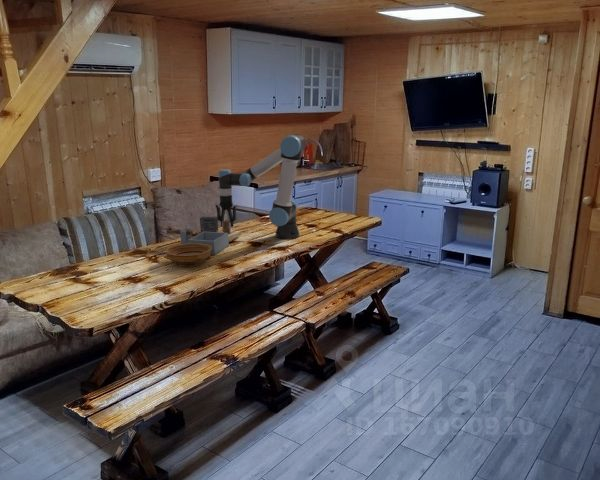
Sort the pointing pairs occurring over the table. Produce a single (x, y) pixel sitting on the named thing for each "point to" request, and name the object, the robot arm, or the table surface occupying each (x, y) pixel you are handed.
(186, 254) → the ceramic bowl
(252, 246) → the table surface
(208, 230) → the small box
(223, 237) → the toolbox
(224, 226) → the board with wooden block
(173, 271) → the table surface
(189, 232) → the latch
